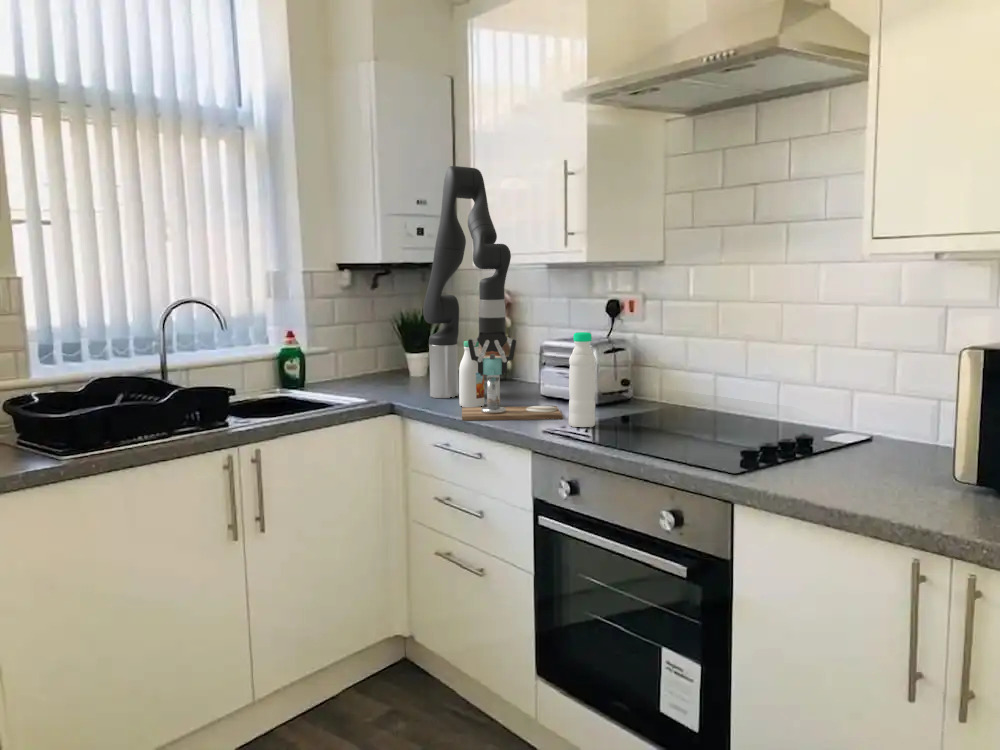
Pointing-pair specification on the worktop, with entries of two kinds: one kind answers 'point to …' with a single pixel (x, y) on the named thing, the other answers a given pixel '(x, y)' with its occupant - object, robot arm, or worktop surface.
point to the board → (513, 413)
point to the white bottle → (582, 382)
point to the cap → (492, 365)
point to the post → (493, 396)
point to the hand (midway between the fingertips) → (492, 375)
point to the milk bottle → (470, 380)
